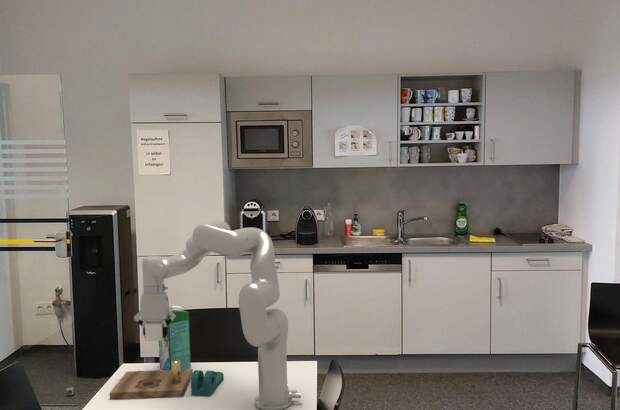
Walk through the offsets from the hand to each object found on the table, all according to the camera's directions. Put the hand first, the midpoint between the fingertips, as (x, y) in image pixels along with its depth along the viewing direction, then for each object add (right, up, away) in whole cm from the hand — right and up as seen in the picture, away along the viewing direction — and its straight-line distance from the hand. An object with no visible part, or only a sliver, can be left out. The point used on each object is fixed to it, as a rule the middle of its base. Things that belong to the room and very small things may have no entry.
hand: (155, 336), depth 203 cm
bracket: (+21, -17, -5) cm, 28 cm away
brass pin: (+10, -15, -8) cm, 19 cm away
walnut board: (+1, -17, -5) cm, 18 cm away
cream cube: (0, -1, 0) cm, 1 cm away
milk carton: (+4, -16, +14) cm, 22 cm away
